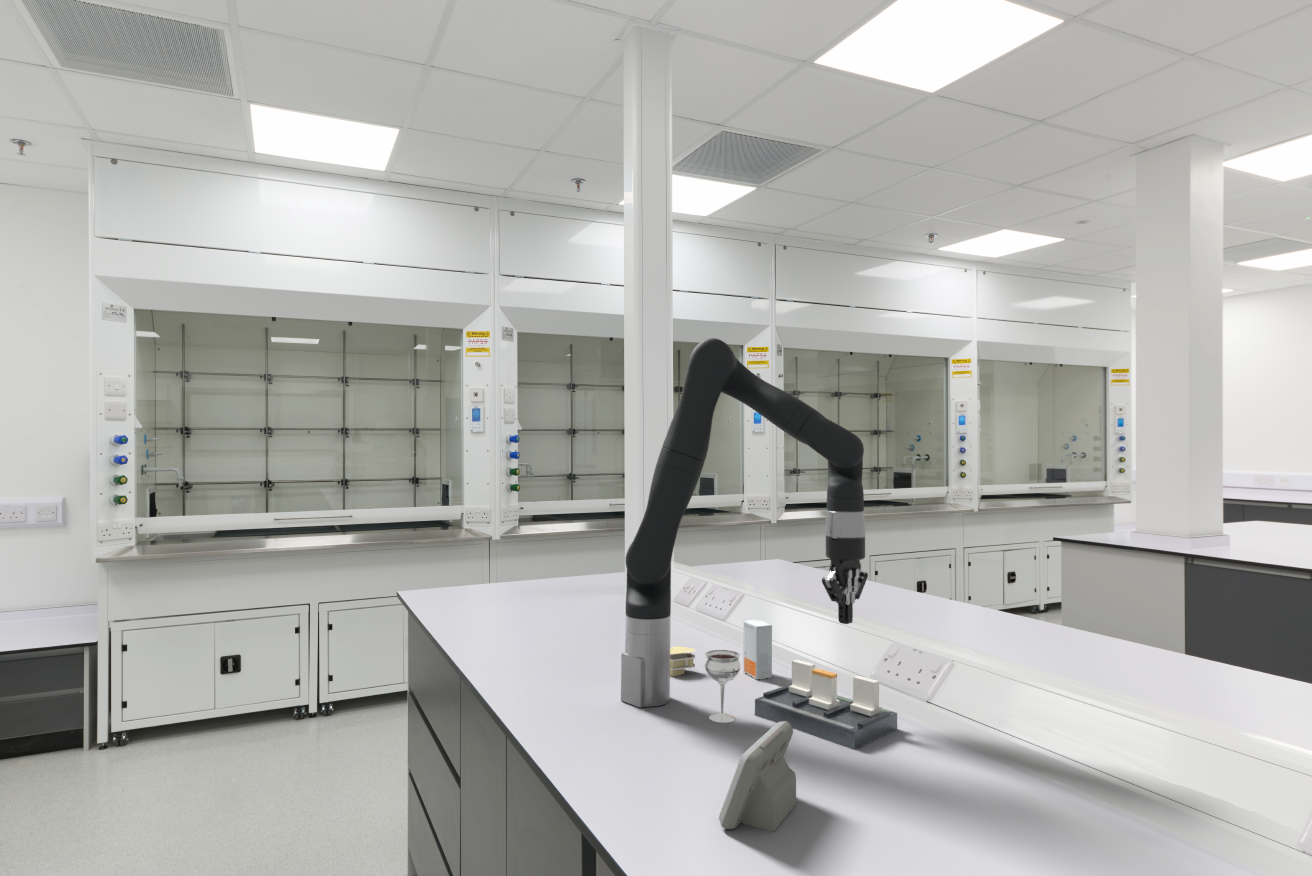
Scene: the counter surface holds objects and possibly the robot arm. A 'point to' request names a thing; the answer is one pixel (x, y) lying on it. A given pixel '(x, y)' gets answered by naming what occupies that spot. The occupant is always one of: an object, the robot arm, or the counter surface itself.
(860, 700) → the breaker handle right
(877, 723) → the breaker panel
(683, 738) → the counter surface
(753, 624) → the skincare box
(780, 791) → the digital clock
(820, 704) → the breaker handle
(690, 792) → the counter surface
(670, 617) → the robot arm
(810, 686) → the breaker handle left
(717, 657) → the wineglass
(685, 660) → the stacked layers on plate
